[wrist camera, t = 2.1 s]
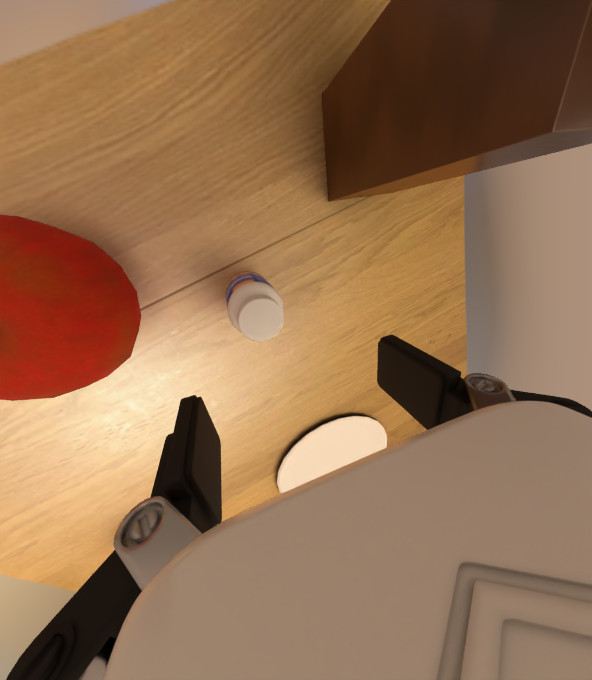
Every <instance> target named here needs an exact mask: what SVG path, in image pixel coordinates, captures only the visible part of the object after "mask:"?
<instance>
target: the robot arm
mask: <svg viewBox="0 0 592 680" xmlns="http://www.w3.org/2000/svg"><path fill="white" fill-rule="evenodd" d="M460 376H461V372H460V371H458V370H456V369H455V368H453V367H451V366H449V365H447V364H445V363H444V362H442V361H440V360H438V359H436V358H434V357H433V356H431V355H429V354H427V353H425V352H423V351H422V350H420V349H418V348H416V347H414V346H412V345H411V344H409V343H407V342H405V341H403V340H401V339H400V338H398V337H396V336H394V335H388V336H385V337H382V338H381V339H380V341H379V342H378V370H377V382H378V385H379V386H380V387H381V388H382V389H383V390H384V391H385V392H386V393H387V394H389V395H390V396H391V397H392V398H393V399H394V400H395V401H396V402H397V403H398V404H400V405H401V406H402V407H403V408H404V409H405V410H406V411H407V412H408V413H409V414H411V415H412V416H413V417H414V418H415V419H416V420H417V421H418V422H419V423H420V424H422V425H423V426H424V427H425V428H426V429H427V431H424V432H422V433H420V434H417V435H415V436H413V437H410V438H408V439H405V440H403V441H401V442H398V443H396V444H394V445H392V446H389V447H387V448H385V449H382V450H380V451H378V452H375V453H373V454H371V455H368V456H366V457H364V458H362V459H359V460H357V461H355V462H352V463H350V464H348V465H345V466H343V467H341V468H339V469H336V470H334V471H332V472H329V473H327V474H325V475H323V476H320V477H318V478H316V479H314V480H311V481H309V482H307V483H304V484H302V485H300V486H298V487H295V488H293V489H291V490H289V491H286V492H284V493H282V494H280V495H277V496H275V497H273V498H271V499H269V500H267V501H264V502H262V503H260V504H258V505H256V506H254V507H251V508H249V509H247V510H245V511H243V512H241V513H239V514H237V515H235V516H233V517H231V518H229V519H227V520H225V521H223V522H221V521H222V502H221V443H220V438H219V436H218V433H217V431H216V429H215V427H214V424H213V422H212V420H211V418H210V415H209V413H208V411H207V409H206V407H205V404H204V402H203V400H202V398H201V397H198V398H197V397H196V395H193V396H190V397H187V398H184V399H181V402H180V406H179V411H178V415H177V419H176V424H175V428H174V433H172V434H169V435H168V436H167V437H166V440H165V444H164V448H163V451H162V455H161V459H160V463H159V467H158V471H157V475H156V478H155V482H154V486H153V490H152V494H151V498H148V499H146V500H144V501H143V502H141V503H139V504H138V505H137V506H136V507H134V508H133V509H132V510H131V511H130V512H129V513H128V514H127V515H126V517H125V518H124V519H123V521H122V522H121V524H120V525H119V527H118V529H117V532H116V534H115V538H114V547H115V550H114V551H113V553H112V554H111V555H110V556H109V557H108V558H107V559H106V560H105V561H104V563H103V564H102V565H101V566H100V567H99V568H98V569H97V570H96V571H95V573H94V574H93V575H92V576H91V577H90V578H89V579H88V580H87V581H86V583H85V584H84V585H83V586H82V587H81V588H80V589H79V590H78V592H77V593H76V594H75V595H74V596H73V597H72V598H71V599H70V601H69V602H68V603H67V604H66V605H65V606H64V607H63V608H62V610H60V612H59V613H58V614H57V615H56V616H55V617H54V618H53V619H52V620H51V622H50V623H49V624H48V625H47V626H46V627H45V628H44V630H42V632H41V633H40V634H39V635H38V636H37V637H36V638H35V639H34V640H33V642H32V643H31V644H30V645H29V647H28V648H27V649H26V650H25V652H24V653H23V654H22V655H21V657H20V658H19V659H18V661H17V663H16V664H15V666H14V667H13V669H12V670H11V672H10V674H9V675H8V677H7V679H6V680H592V411H590V410H589V409H588V408H586V407H585V406H583V405H581V404H579V403H578V402H575V401H573V400H570V399H567V398H561V397H555V396H548V395H542V394H535V393H528V392H521V391H514V390H510V389H509V388H508V387H507V385H506V384H505V383H504V382H503V381H501V380H500V379H498V378H495V377H494V376H490V375H487V374H481V373H474V374H469V375H467V376H466V377H465V378H464V379H463V378H461V377H460ZM217 524H218V525H217Z"/></svg>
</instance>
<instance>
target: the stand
mask: <svg viewBox="0 0 592 680" xmlns="http://www.w3.org/2000/svg"><path fill="white" fill-rule="evenodd" d="M322 104H323V120H324V136H325V152H326V169H327V185H328V201H329V202H330V201H337V200H344V199H351V198H358V197H365V196H372V195H379V194H386V193H393V192H397V191H401V190H405V189H409V188H413V187H417V186H421V185H425V184H429V183H433V182H438V181H442V180H446V179H450V178H454V177H458V176H462V175H466V174H470V173H473V172H478V171H482V170H486V169H489V168H494V167H498V166H502V165H506V164H510V163H514V162H518V161H522V160H526V159H530V158H534V157H538V156H542V155H547V154H551V153H555V152H558V151H563V150H566V149H570V148H574V147H579V146H583V145H587V144H591V143H592V0H391V1H390V3H389V4H388V5H387V7H386V8H385V9H384V11H383V12H382V13H381V15H380V16H379V18H378V19H377V20H376V22H375V23H374V24H373V26H372V27H371V28H370V30H369V31H368V32H367V34H366V35H365V37H364V38H363V39H362V41H361V42H360V43H359V45H358V46H357V47H356V49H355V50H354V52H353V53H352V54H351V56H350V57H349V58H348V60H347V61H346V62H345V64H344V65H343V66H342V68H341V69H340V71H339V72H338V73H337V75H336V76H335V77H334V79H333V80H332V81H331V83H330V84H329V86H328V87H327V88H326V90H325V91H324V92H323V94H322Z"/></svg>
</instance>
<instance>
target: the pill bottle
mask: <svg viewBox="0 0 592 680" xmlns="http://www.w3.org/2000/svg"><path fill="white" fill-rule="evenodd" d="M226 301H227V308H228V315H229V319H230V321H231V323H232V324H233V326H234V327H235V328H236V329H237V330H238V331H240V332H241V333H243V334H244V335H245V336H246V337H247V338H249V339H251V340H253V341H259V342H260V341H267V340H270V339H272V338H273V337H275V336H276V335H277V334H278V333H279V332H280V330H281V329H282V326H283V323H284V314H283V312H284V306H283V302H282V299H281V297H280V295H279V294H278V292H277V291H276V290H275V289H274V288H273V287H272V286H271V285H270V284H269V283H268V282H267V281H266V280H265V279H264V278H263V277H262V276H260V275H258V274H256V273H253V272H243V273H239V274H237V275H236V276H234V277H233V278H232V279H231V280H230V281H229V283H228V285H227V288H226Z"/></svg>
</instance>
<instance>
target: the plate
mask: <svg viewBox="0 0 592 680" xmlns="http://www.w3.org/2000/svg"><path fill="white" fill-rule="evenodd" d="M386 446H387V435H386V432H385V429H384V427H383V426H382V425H381V424H380V423H379V422H378V421H376V420H374V419H372V418H369V417H366V416H355V415H354V416H348V417H342V418H338V419H335V420H332V421H330V422H327V423H324V424H322V425H321V426H319V427H317V428H315V429H314V430H312V431H310V432H309V433H307V434H306V435H305V436H304V437H303V438H301V439H300V440H299V441H298V442H297V443H296V444H294V445H293V447H292V448H291V449H290V451H289V452H288V453H287V454H286V456H285V457H284V458H283V461H282V463H281V465H280V467H279V470H278V476H277V485H278V488H279V491H280V493H281V494H282V493H284V492H286V491H289V490H291V489H293V488H295V487H298V486H300V485H302V484H304V483H307V482H309V481H311V480H314V479H316V478H318V477H320V476H323V475H325V474H327V473H329V472H332V471H334V470H336V469H339V468H341V467H343V466H345V465H348V464H350V463H352V462H355V461H357V460H359V459H362V458H364V457H366V456H368V455H371V454H373V453H375V452H378V451H380V450H382V449H385V448H386Z"/></svg>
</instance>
